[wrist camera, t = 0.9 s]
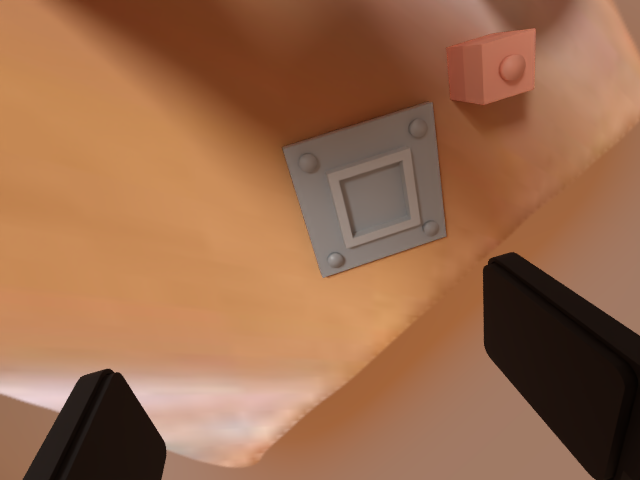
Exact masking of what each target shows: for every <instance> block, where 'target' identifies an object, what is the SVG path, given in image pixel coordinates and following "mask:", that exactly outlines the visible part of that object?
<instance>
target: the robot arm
mask: <svg viewBox="0 0 640 480" xmlns="http://www.w3.org/2000/svg"><path fill="white" fill-rule="evenodd" d="M483 298H484V299H483V300H484V301H483V304H484V346H485V349H486V352H487V354H488V355H489V357H490V358H491V359H492V361H493V362H494V363H495V364H496V365H497V366H498V368H499V369H500V370H501V371H502V372H503V374H504V375H505V376H506V377H507V378H508V379H509V381H510V382H511V383H512V384H513V385H514V386H515V388H516V389H517V390H518V391H519V392H520V393H521V395H522V396H523V397H524V398H525V399H526V400H527V402H528V403H529V404H530V405H531V406H532V408H533V409H534V410H535V411H536V412H537V413H538V415H539V416H540V417H541V418H542V419H543V420H544V422H545V423H546V424H547V425H548V426H549V427H550V429H551V430H552V431H553V432H554V433H555V434H556V436H557V437H558V438H559V439H560V440H561V442H562V443H563V444H564V445H565V446H566V447H567V449H568V450H569V451H570V452H571V453H572V455H573V456H574V457H575V458H576V459H577V460H578V462H579V463H580V464H581V465H582V466H583V467H584V469H585V470H586V471H587V472H588V473H589V474H590V475H591V476H592V477H593V478H594V479H596V480H640V336H639V335H638V334H636V333H635V332H633V331H632V330H630V329H629V328H627V327H626V326H624V325H623V324H621V323H620V322H618V321H617V320H615V319H614V318H612V317H611V316H609V315H608V314H606V313H605V312H603V311H602V310H600V309H599V308H597V307H596V306H594V305H593V304H591V303H590V302H588V301H587V300H585V299H584V298H582V297H581V296H579V295H578V294H576V293H575V292H573V291H572V290H570V289H569V288H567V287H566V286H564V285H563V284H561V283H560V282H558V281H557V280H555V279H554V278H552V277H551V276H550V275H548V274H546V273H545V272H543V271H542V270H541V269H539V268H538V267H536V266H535V265H533V264H531V263H530V262H529V261H527V260H526V259H524V258H523V257H521V256H520V255H518V254H516V253H514V252H511V253H507V254H503V255H500V256H497V257H493V258H491V259H489V261H488V265H486V266H485V267H484V269H483ZM165 460H166V445H165V442H164V440H163V439H162V437H161V436H160V434H159V432H158V431H157V429H156V428H155V426H154V424H153V423H152V421H151V420H150V418H149V417H148V415H147V413H146V412H145V410H144V409H143V407H142V406H141V404H140V402H139V401H138V399H137V398H136V396H135V395H134V393H133V391H132V390H131V388H130V387H129V385H128V384H127V382H126V380H125V379H124V377H123V376H122V375H121V374H120V373H119V372H116V373H114V372H113V371H112V370H111V369H104V370H101V371H97V372H94V373H90V374H87V375H84V376H82V377H80V379H79V380H78V381H77V383H76V385H75V387H74V388H73V390H72V392H71V394H70V396H69V397H68V399H67V401H66V403H65V405H64V406H63V408H62V410H61V412H60V414H59V415H58V417H57V419H56V421H55V423H54V425H53V426H52V428H51V430H50V431H49V433H48V435H47V437H46V439H45V441H44V442H43V444H42V446H41V448H40V449H39V451H38V453H37V455H36V457H35V459H34V460H33V462H32V464H31V466H30V467H29V469H28V471H27V473H26V475H25V476H24V478H23V480H161V478H162V474H163V469H164V464H165Z"/></svg>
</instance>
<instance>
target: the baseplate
mask: <svg viewBox="0 0 640 480" xmlns="http://www.w3.org/2000/svg"><path fill="white" fill-rule="evenodd" d="M282 149H283V153H284V156H285V159H286V162H287V165H288V169H289V172H290V175H291V178H292V182H293V185H294V188H295V191H296V195H297V198H298V201H299V204H300V207H301V211H302V214H303V217H304V220H305V224H306V227H307V230H308V233H309V236H310V240H311V243H312V246H313V249H314V253H315V256H316V259H317V262H318V266H319V269H320V272H321V275H322V277H323V278H324V277H327V276H330V275H333V274H336V273H339V272H342V271H345V270H348V269H351V268H354V267H357V266H360V265H362V264H365V263H368V262H371V261H374V260H377V259H380V258H383V257H386V256H389V255H392V254H395V253H398V252H401V251H404V250H407V249H410V248H413V247H416V246H419V245H422V244H425V243H428V242H431V241H434V240H437V239H440V238H443V237H446V228H445V218H444V208H443V199H442V189H441V179H440V170H439V160H438V150H437V140H436V131H435V121H434V111H433V102H425V103H422V104H418V105H415V106H412V107H409V108H406V109H402V110H399V111H396V112H393V113H390V114H386V115H383V116H380V117H377V118H374V119H370V120H367V121H364V122H361V123H357V124H354V125H351V126H348V127H345V128H341V129H338V130H335V131H332V132H329V133H325V134H322V135H319V136H316V137H313V138H309V139H306V140H303V141H300V142H296V143H293V144H290V145H287V146H284V147H282Z"/></svg>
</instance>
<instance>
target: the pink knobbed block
mask: <svg viewBox="0 0 640 480" xmlns="http://www.w3.org/2000/svg"><path fill="white" fill-rule="evenodd" d="M535 35H536V28H532V29H524V30H516V31H508V32H500V33H493V34H489V35H486V36H483V37H479V38H476V39H473V40H469V41H466V42H463V43H460V44H456V45H453V46H450V47H446V50H447V63H448V75H449V88H450V99H451V100H457V101H463V102H469V103H475V104H481V105H485V104H489V103H492V102H495V101H498V100H501V99H504V98H508V97H511V96H514V95H517V94H520V93H524V92H527V91H530V90H533V89H534V76H535Z"/></svg>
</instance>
